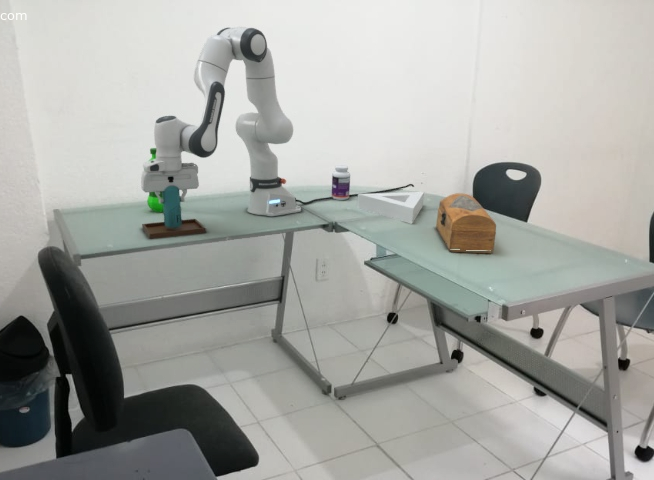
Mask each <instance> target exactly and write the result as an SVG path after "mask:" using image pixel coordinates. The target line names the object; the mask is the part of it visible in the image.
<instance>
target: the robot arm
mask: <svg viewBox="0 0 654 480" xmlns="http://www.w3.org/2000/svg"><path fill="white" fill-rule="evenodd" d="M233 60H234V61H242V62H243V63H244V66H245V69H244V70H245V83H246V85H245V86H246V93H247V94H246V96H247V99H248V101H249V102H250V103H251V104H252V105H253V106H254V107H255V108H256V110H257V112H246V113H241V114H240V115H238V116H237V118H236V121H235V126H234V127H235V132H236V135H237V136H238V137H239V138H240V139H241V141H243V143H244V145H245V148H246V150H247V153H248V157H249V165H250V177H249V182H248V183H249V184H248V185H249V191H250V192H249V193H250V194H249V201H248V205H247V210H246V211H247V213H250V214H252V215H253V214H254V215H258V216H265V217H266V216H268V217H277V216H283V215H289V214H294V213H295V214H296V213H301V212H302V207H301V206H300V205H299V204H297V203H300V204H302V205H309V204H312V203H314V202H317V201H319V202H320V201H326V200H334V199H333V197H332V196H329V197H320V198H315V199H312V200H309V201H302V200H300V199H297V197H296V196H295V195H294V194H293V193H292V192H291V191H290V190H288V189H287V188H286V187H285V186H283V185H286V183H287V179H285V178H284V177H283V178H282V177H279V160H278V159H279V158H278V157H277V155H276V154H275V153H274V152H273V151H272V150H271V148H270V146H269V144H271V145H282V144H287V143H289V142H290V140H291V139H292V137H293V135H294V126H293V122H292V121H291V119H290V118H289V117H287V115H286V114H285V113H284V111H283V109H282V107H281V105H280V103H279V99H278V95H277V86H276V75H275V74H276V73H275V65H274V59H273V55H272V51H271V50H270V48H269V47H268V42H267V38H266V36H265V34H264V33H263V31H261V30H259V29H257V28H256V27H255V28H254V27H246V26H237V27H224V28H222V29H220V30H219V31H218V32H217V33H216V34H213V35H210V36H209V37H208V38H207V39H206V41H205V42H204V45H203V46H202V48H201V51H200V52H199V55H198V58H197V61H196V64H195V68H194V71H193V81H194V84H195V86H196V87H197V89H198V90H199V91H200V92H201V93H202V94H203V97H204V107H203V111H202V115H201V120H200V124H199V125H197V126H196V125H195V124H190V123H187V122H185V121H183V120H181V119H179V118H178V117H177V116H176V115H164V116H161V117H159V118H157V119H156V120H155V122H154V130H153V131H154V132H153V134H154V135H153V136H154V145H155V148H156V159H153V160H151V161H149V160H148V161H145V162H144V163H143V164H142V167H143V170H142V173H141V177H140V178H141V181H140V183H141V185H140V186H141V190H142V191H143V192H144V193H149V192H155V194H156V195H157V197H158V198H159V203H160V204H162V203H164V199H163V198H161V197H160V196H159V194H160V191H165V189H166V188H167V187H169V186H176V187H177V188H179V191H181V192H182V193H181V195H180V202H181V203H185V197H186V196H187V193H188V190H195V189H198V188H199V187H200V182H199V176H198V173H199V165H197V164H196V163H194V162H182V152H186V153H188V154H192V155H194V156H196V157H199V158H201V159H202V158H203V159H205V158H209V157H211V156H212V155H213V154H214V153H215V152H216V149H217V148H218V143H219V142H218V140H219V139H218V138H219V136H218V135H219V126H220V122H221V116H222V112H223V108H224V104H225V103H224V102H225V98H226V97H225V96H226V91H225V84H226V79H227V75H228V73H229V69H230V65H231V63H232V61H233ZM144 169H145V170H144ZM168 177H174V180H173V182H169V180H168ZM408 187H412V188H415V185H414V184H413V183H408V184H407V185H404V186H399V187H394V188H388V189H383V190H378V191H377V190H375V191H369V192H362V193H360V194H373V193H388V192H393V191H396V190H403V189H406V188H408ZM358 194H359V193H353V194H349V198H352V197H358Z"/></svg>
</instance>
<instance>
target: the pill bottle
mask: <svg viewBox="0 0 654 480" xmlns="http://www.w3.org/2000/svg"><path fill="white" fill-rule="evenodd" d="M334 170H335V171H333V172H332V175H331V197H333V199H332V200H336V201H346V200H348V199H349V198H350V197H349V195H350V190H351V189H350V188H351V187H350V186H351V173H350V172H349V167H348V166H347V165H335V169H334Z"/></svg>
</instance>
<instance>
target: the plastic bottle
mask: <svg viewBox="0 0 654 480" xmlns="http://www.w3.org/2000/svg"><path fill="white" fill-rule="evenodd" d="M149 153H150V155H151V158H149V160H148V161H151V160H153V159H156V147H151V148H150V149H149ZM144 170H145V169H144V168H143V171H144ZM159 196H160V197H161V198H163V196H162V191H160V194H159ZM147 206H148V208H150V209H151V210H152V211H153V212H155V213H164V210H163V203H162V204H160V203H159V198H158V197H157V195H156V194H155V192H148V197H147Z"/></svg>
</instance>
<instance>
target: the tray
mask: <svg viewBox="0 0 654 480" xmlns="http://www.w3.org/2000/svg"><path fill="white" fill-rule="evenodd" d="M141 228H142V230H143V232H144V233H145V234H146V235H147V237H148V238H149V239H150V240H152V239H162V238H169V237H179V236H188V235H189V236H190V235H198V234H206V227H205V226H204V225H203V224H202V223H201V222H200V221H199V220H197V219H196V218H190V219H189V218H188V219H182V225H181V226H180V227H175V228H170V227H166V226H165V222H164V221H161V222H149V223H142V224H141Z"/></svg>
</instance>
